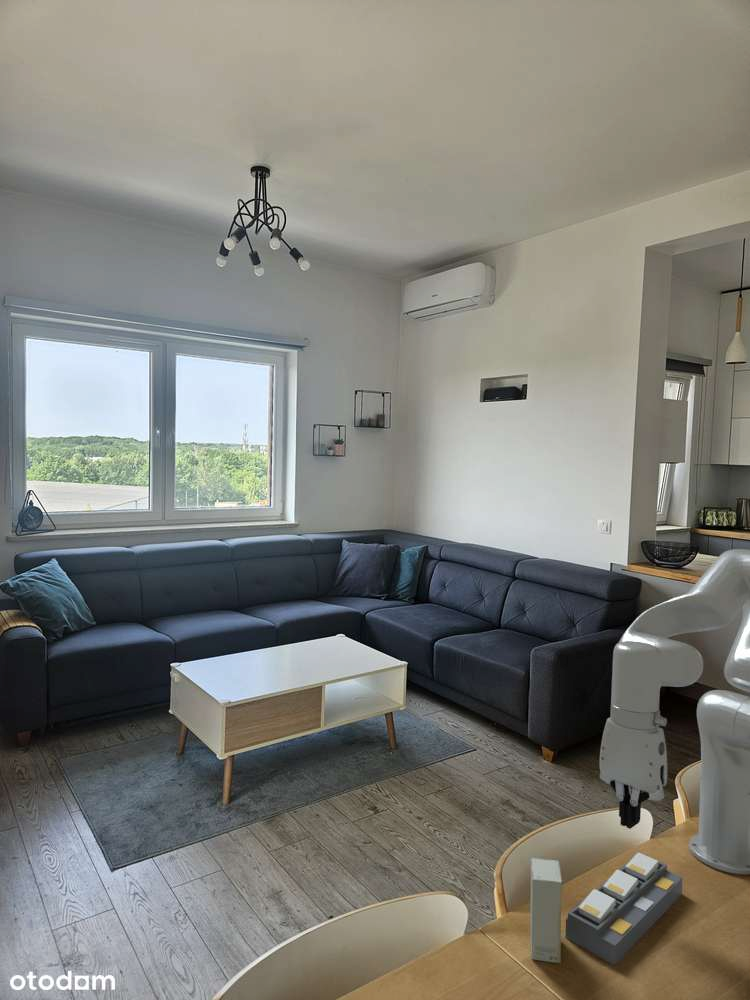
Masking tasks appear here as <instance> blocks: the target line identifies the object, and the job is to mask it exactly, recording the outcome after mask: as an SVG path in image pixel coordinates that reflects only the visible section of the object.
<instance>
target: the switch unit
mask: <svg viewBox="0 0 750 1000" xmlns="http://www.w3.org/2000/svg"><path fill="white" fill-rule="evenodd" d="M644 855H645V854H644ZM645 856H647V855H645ZM651 858H652V859H654V858H653V857H651ZM657 861H658V867H657V868H656V870H655V871H654V872H653V873H652V874H651V876H650V877H649V878H648V879H647V880H646V881H645V880H643V879H641V878H638V877H636V876H634V875H632V874H630V873H628V872H625V866H626V865H627V864H628V863H629V862H630V860H629V861H628V862H627V863H625V864H624V865H623V866H622V867H620V868H619V869H618V870H620V871H622V872H624V873H626V874H629V875H631V876H633V877H635V878H637V879H638V885H637V886H636V887H635V889H634V890H633V891H632V893H631V894H630V895H629V897H628V898H627V899H626V900H625V901H622V900H620V899H618V898H616V897H614V896H612V895H609V894H607V893H605V892H603V886H604V884H605V883H606V882H607V881H608V880H609V878H608V879H606V880H605V881H604V882H603V883H601V884H600V885H599V886H598V887H597V888H596V890H598V891H600V892H602V893H604V894H606V895H608V896H610V897H612V898H614V899H615V903H616V905H615V906H614V908H613V909H612V910H611V911H610V913H609V914H608V915H607V917H606V918H605V919H604V920H603V922H602V923H601V924H599V923H597V922H595V921H593V920H591V919H590V918H588V917H586V916H584V915H582V914H580V913H579V906H580V905H581V904H582V902H583V901H584V900H585V899H586V898H587V896H586V897H585V898H584V899H583V900H582V901H580V902H579V903H578V904H577V905H576V906H574V908H572V909H571V910H570V911H568V913H567V917H566V918H565V938H566V939H568V940H570V941H571V942H573V943H575V944H576V945H578V946H580V948H583V949H585V950H586V949H587V950H586V951H588V950H589V951H588V952H590V953H592V954H593V953H594V955H595V956H597V957H599V958H600V957H601V958H600V959H602V960H603V961H605V960H606V962H607V963H609V964H610V965H613V966H616V965H617V964H618V962H620V960H621V959H622V958H623V957H624V956H625V955H626V954H627V953H628V952H629V951H630V950H631V949H632V948H633V946H634V945H636V943H637V942H638V941H639V940H640V939H641V938H642V937H643V936H644V935H645V934H646V933H647V932H648V931H649V930H650V929H651V928H652V927H653V925H654V924H655V923H656V922H658V920H659V919H660V918H661V917H662V916H663V915H664V914H665V913H666V912H667V911H668V909H669V908H670V907H672V905H674V903H675V902H676V901H677V900H678V899H679V898H681V896H682V895H683V876H681V875H678V874H677V873H674V872H671V871H669V870H668V869H667V868H668V864H666V863H664V862H661V861H659V860H657Z"/></svg>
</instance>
